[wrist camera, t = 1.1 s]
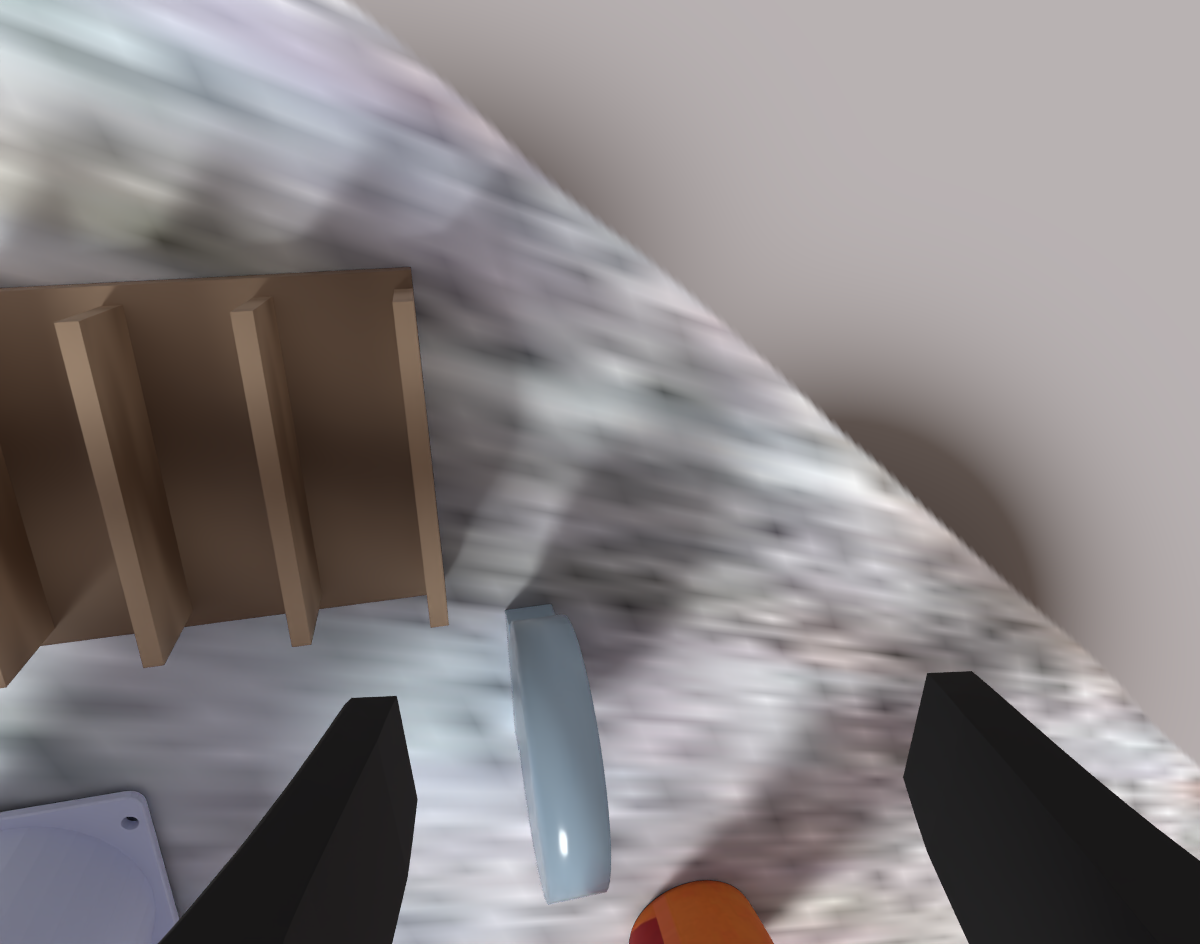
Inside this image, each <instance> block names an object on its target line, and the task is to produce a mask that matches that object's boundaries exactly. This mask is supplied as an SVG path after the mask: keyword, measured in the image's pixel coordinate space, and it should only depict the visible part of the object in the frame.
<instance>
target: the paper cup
mask: <svg viewBox="0 0 1200 944" xmlns="http://www.w3.org/2000/svg"><path fill="white" fill-rule="evenodd" d="M629 944H774V943H773V941H772V939H771V938H770V936H769V934H768V933H767V931H766V929H765V928H764V926H763V924H762V922H761V921H760V919H759V917H758V916H757V914H756V912H755V911H754V909H753V908H752V906H751V905H750V903H749V902H748V900H747V899H746V897H745V896H744V895H743V894H742V893H741V892H740V891H739V890H738V889H736V888H735V887H733V886H731V885H729V884H727V883H723V882H719V881H712V880H703V881H694V882H690V883H686V884H683V885H680V886H677V887H675V888H673V889H671V890H669V891H667V892H665V893H663V894H662V895H660V896H659V897H657V898H656V899H655V900H654V901H652V902H651V903H650V904H649V905H648V906H647V907H646V908H645V909H644V910H643V911H642V913H641V914H640V915H639V917H638V918H637V920H636V922H635V924H634V926H633V928H632V931H631V934H630V939H629Z"/></svg>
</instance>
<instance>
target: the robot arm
mask: <svg viewBox="0 0 1200 944" xmlns="http://www.w3.org/2000/svg"><path fill="white" fill-rule="evenodd" d="M903 778H904V782H905V785H906V788H907V791H908V794H909V798H910V801H911V804H912V807H913V811H914V814H915V817H916V820H917V823H918V826H919V829H920V832H921V835H922V838H923V841H924V844H925V847H926V850H927V852H928V855H929V857H930V859H931V861H932V864H933V866H934V868H935V871H936V873H937V875H938V877H939V879H940V882H941V884H942V886H943V888H944V890H945V893H946V895H947V897H948V899H949V901H950V904H951V906H952V908H953V910H954V912H955V915H956V917H957V919H958V921H959V923H960V925H961V928H962V930H963V932H964V934H965V936H966V938H967V940H968V943H969V944H1200V861H1199V860H1198V859H1197V858H1195V857H1194V856H1193V855H1191V854H1190V853H1189V852H1187V851H1186V850H1185V849H1183V848H1182V847H1181V846H1180V845H1178V844H1177V843H1176V842H1174V841H1173V840H1172V839H1170V838H1169V837H1168V836H1167V835H1165V834H1164V833H1163V832H1161V831H1160V830H1159V829H1157V828H1156V827H1155V826H1154V825H1152V824H1151V823H1150V822H1149V821H1147V820H1146V819H1145V818H1144V817H1142V816H1141V815H1140V814H1139V813H1137V812H1136V811H1135V810H1134V809H1132V808H1131V807H1130V806H1129V805H1127V804H1126V803H1125V802H1124V801H1123V800H1121V799H1120V798H1119V797H1118V796H1116V795H1115V794H1114V793H1113V792H1112V791H1110V790H1109V789H1108V788H1107V787H1106V786H1104V785H1103V784H1102V783H1101V782H1100V781H1098V780H1097V779H1096V778H1095V777H1094V776H1092V775H1091V774H1090V773H1089V772H1088V771H1086V770H1085V769H1084V768H1083V767H1082V766H1081V765H1079V764H1078V763H1077V762H1076V761H1075V760H1074V759H1072V758H1071V757H1070V756H1069V755H1068V754H1067V753H1065V752H1064V751H1063V750H1062V749H1061V748H1060V747H1058V746H1057V745H1056V744H1055V743H1054V742H1053V741H1052V740H1050V739H1049V738H1048V737H1047V736H1046V735H1045V734H1044V733H1042V732H1041V731H1040V730H1039V729H1038V728H1037V727H1035V726H1034V725H1033V724H1032V723H1031V722H1030V721H1029V720H1027V719H1026V718H1025V717H1024V716H1023V715H1022V714H1021V713H1019V712H1018V711H1017V710H1016V709H1015V708H1014V707H1013V706H1012V705H1010V704H1009V703H1008V702H1007V701H1006V700H1005V699H1004V698H1002V697H1001V696H1000V695H999V694H998V693H997V692H996V691H994V690H993V689H992V688H991V687H990V686H989V685H987V684H986V683H985V682H984V681H983V680H982V679H980V678H979V677H978V676H977V675H976V674H974V673H973V672H972V671H967V672H944V673H927V677H926V681H925V685H924V690H923V694H922V698H921V703H920V707H919V711H918V716H917V720H916V724H915V729H914V733H913V737H912V742H911V746H910V750H909V755H908V759H907V763H906V768H905V772H904V776H903ZM416 807H417V795H416V790H415V785H414V780H413V775H412V770H411V765H410V760H409V755H408V750H407V745H406V740H405V735H404V730H403V725H402V720H401V715H400V710H399V705H398V700H397V696H386V697H363V698H351V699H350V700H349V701H348V702H347V703H346V704H345V705H344V706H343V708H342V709H341V711H340V712H339V714H338V715H337V716H336V718H335V719H334V721H333V722H332V724H331V725H330V727H329V728H328V730H327V731H326V732H325V734H324V735H323V737H322V738H321V740H320V741H319V742H318V744H317V745H316V747H315V748H314V750H313V751H312V752H311V754H310V755H309V757H308V758H307V759H306V761H305V762H304V764H303V765H302V766H301V768H300V769H299V771H298V772H297V773H296V775H295V776H294V777H293V779H292V780H291V782H290V783H289V784H288V786H287V787H286V788H285V790H284V791H283V792H282V794H281V795H280V796H279V798H278V799H277V800H276V801H275V803H274V804H273V805H272V807H271V808H270V809H269V811H268V812H267V813H266V815H265V816H264V817H263V818H262V820H261V821H260V822H259V824H258V825H257V826H256V828H255V829H254V830H253V832H252V833H251V834H250V835H249V837H248V838H247V839H246V841H245V842H244V843H243V844H242V846H241V847H240V848H239V849H238V851H237V852H236V853H235V854H234V855H233V857H232V858H231V859H230V860H229V861H228V863H227V864H226V865H225V866H224V867H223V869H222V870H221V871H220V872H219V873H218V875H217V876H216V877H215V878H214V879H213V881H212V882H211V883H210V884H209V885H208V887H207V888H206V889H205V890H204V891H203V892H202V894H201V895H200V896H199V897H198V898H197V900H196V901H195V902H194V903H193V904H192V906H191V907H190V908H189V909H188V910H187V911H186V913H185V914H184V915H183V916H182V917H181V918H180V919H179V916H178V913H177V909H176V906H175V902H174V898H173V895H172V891H171V887H170V884H169V880H168V876H167V873H166V869H165V866H164V862H163V858H162V855H161V851H160V847H159V844H158V840H157V837H156V833H155V829H154V826H153V822H152V818H151V815H150V811H149V808H148V804H147V800H146V799H145V797H144V796H143V795H142V794H140V793H139V792H135V791H123V792H117V793H111V794H106V795H100V796H94V797H88V798H82V799H76V800H70V801H64V802H58V803H52V804H46V805H40V806H34V807H28V808H22V809H16V810H10V811H4V812H0V944H392V942H393V937H394V933H395V929H396V925H397V920H398V916H399V912H400V908H401V903H402V899H403V895H404V890H405V886H406V882H407V877H408V871H409V863H410V856H411V848H412V841H413V833H414V824H415V816H416ZM126 817H135V818H137V819H138V820H137V821H130V820H128V819H127V818H126Z"/></svg>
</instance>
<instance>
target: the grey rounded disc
mask: <svg viewBox="0 0 1200 944" xmlns="http://www.w3.org/2000/svg"><path fill="white" fill-rule="evenodd" d="M505 614H506V626H507V638H508V650H509V663H510V675H511V687H512V699H513V711H514V724H515V734H516V739H517V744H518V749H519V752H520V760H521V768H522V776H523V783H524V790H525V797H526V804H527V811H528V817H529V823H530V830H531V836H532V842H533V847H534V853H535V858H536V863H537V868H538V873H539V878H540V882H541V887H542V891H543V894H544V897H545V900H546V903H547V904H548V905H549V904H554V903H559V902H563V901H568V900H573V899H577V898H582V897H587V896H592V895H596V894H601V893H605V892H607V890H608V887H609V883H610V874H611V840H610V823H609V811H608V801H607V791H606V783H605V775H604V767H603V760H602V753H601V746H600V740H599V734H598V728H597V722H596V716H595V711H594V705H593V701H592V696H591V691H590V686H589V682H588V677H587V673H586V669H585V665H584V661H583V657H582V653H581V650H580V647H579V643H578V640H577V637H576V634H575V631H574V629H573V627H572V624H571V622H570V620H569V619H568V617H567V616H566V615H565V614H559V615H555V613H554V610H553V607H552V604H547V605H539V606H532V607H525V608H518V609H510V610H505Z"/></svg>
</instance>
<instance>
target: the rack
mask: <svg viewBox="0 0 1200 944" xmlns="http://www.w3.org/2000/svg"><path fill="white" fill-rule="evenodd" d="M422 595H427V600H428V609H429V617H430V626H431V628H432V627H439V626H446V625H449V622H448V611H447V601H446V588H445V578H444V569H443V559H442V550H441V541H440V532H439V523H438V513H437V504H436V495H435V486H434V477H433V467H432V458H431V449H430V440H429V431H428V421H427V412H426V403H425V394H424V385H423V375H422V366H421V357H420V348H419V339H418V329H417V320H416V311H415V302H414V293H413V284H412V274H411V267H401V268H382V269H362V270H343V271H323V272H304V273H285V274H265V275H246V276H227V277H207V278H188V279H169V280H149V281H130V282H111V283H91V284H72V285H53V286H33V287H14V288H0V688H5V687H7V686H8V685H9V683H10V682H11V681H12V680H13V679H14V677H15V676H16V675H17V674H18V672H19V671H20V670H21V669H22V668H23V666H24V665H25V664H26V663H27V662H28V660H29V659H30V658H31V657H32V655H33V654H34V653H35V652H36V651H37V649H38V648H39V647H40V646H44V645H52V644H59V643H67V642H75V641H82V640H90V639H97V638H105V637H112V636H120V635H127V634H135V637H136V641H137V645H138V649H139V653H140V657H141V661H142V664H143V668H147V667H155V666H162V665H164V664H165V663H166V661H167V659H168V657H169V655H170V653H171V651H172V649H173V647H174V645H175V643H176V642H177V640H178V638H179V636H180V634H181V632H182V630H183V628H184V627H188V626H195V625H203V624H211V623H218V622H226V621H233V620H241V619H248V618H256V617H264V616H271V615H279V614H286V618H287V623H288V628H289V634H290V639H291V645H292V647H297V646H304V645H311V644H312V639H313V634H314V630H315V625H316V621H317V616H318V611H319V609H324V608H332V607H339V606H347V605H354V604H362V603H369V602H377V601H384V600H392V599H400V598H407V597H415V596H422Z"/></svg>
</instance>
